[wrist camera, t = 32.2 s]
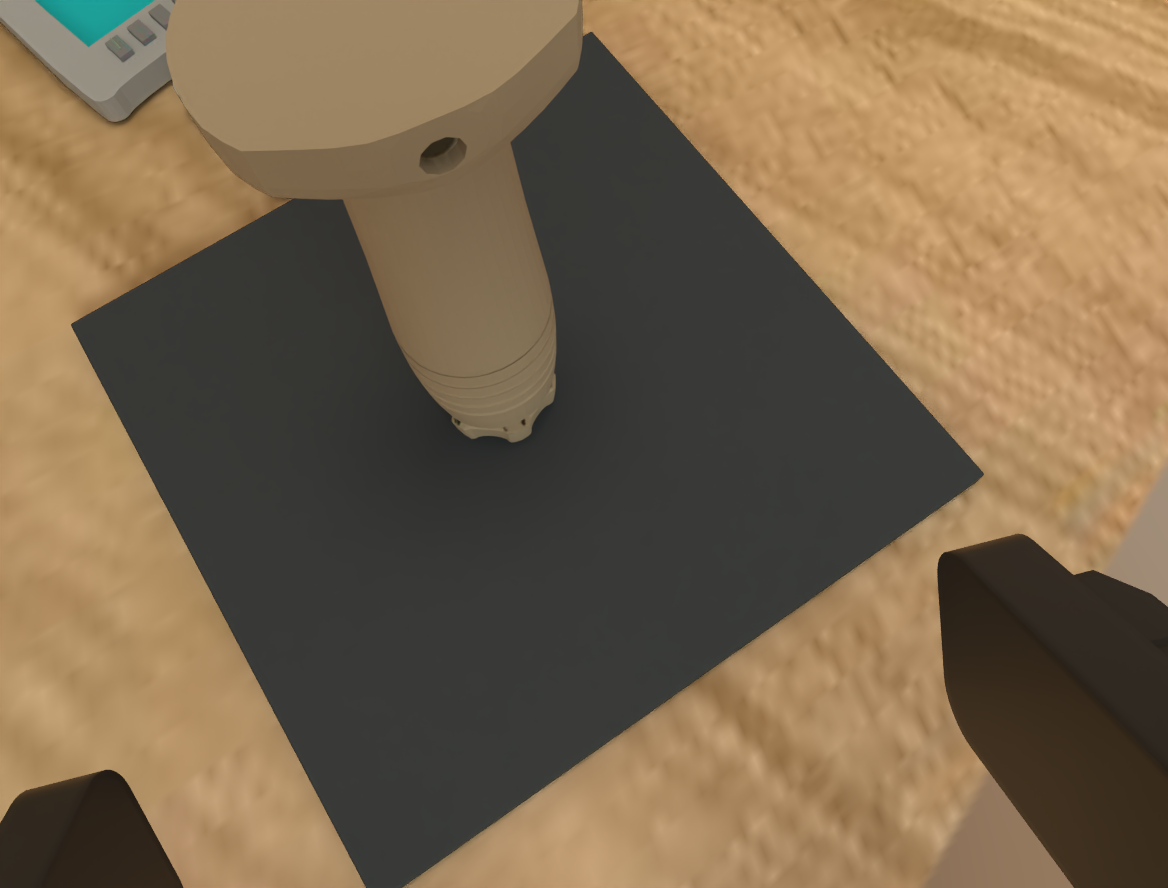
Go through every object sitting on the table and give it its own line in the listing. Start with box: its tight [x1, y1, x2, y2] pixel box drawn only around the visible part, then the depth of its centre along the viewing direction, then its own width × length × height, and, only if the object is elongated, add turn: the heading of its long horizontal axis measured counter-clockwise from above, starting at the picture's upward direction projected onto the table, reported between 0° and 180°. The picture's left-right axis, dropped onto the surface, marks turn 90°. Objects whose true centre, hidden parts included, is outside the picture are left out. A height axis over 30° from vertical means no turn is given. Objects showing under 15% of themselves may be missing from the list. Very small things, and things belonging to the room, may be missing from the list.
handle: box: [165, 0, 583, 443], centre depth 22 cm, size 5×6×15 cm
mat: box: [71, 32, 984, 888], centre depth 29 cm, size 20×20×1 cm
